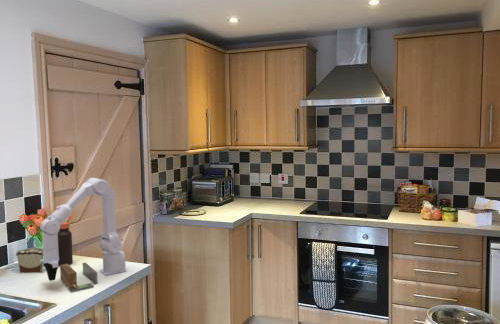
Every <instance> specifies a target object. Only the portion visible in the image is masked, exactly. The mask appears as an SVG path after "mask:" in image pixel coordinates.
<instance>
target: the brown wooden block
mask: <svg viewBox="0 0 500 324" xmlns="http://www.w3.org/2000/svg"><path fill="white" fill-rule="evenodd" d="M59 272H60V273H59V274H60V280H62V282H63V283H64V284H65V285H66V286H67V287H68V288H70V287H74V288H76V286H78V281H77V280H78V278H77V277H78V276H77V275H78V274H77V271H75V270H74V268H73V267H71V265H68V264H63V265H60V266H59Z"/></svg>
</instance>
